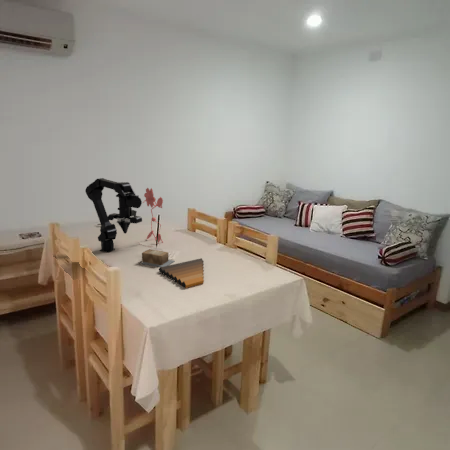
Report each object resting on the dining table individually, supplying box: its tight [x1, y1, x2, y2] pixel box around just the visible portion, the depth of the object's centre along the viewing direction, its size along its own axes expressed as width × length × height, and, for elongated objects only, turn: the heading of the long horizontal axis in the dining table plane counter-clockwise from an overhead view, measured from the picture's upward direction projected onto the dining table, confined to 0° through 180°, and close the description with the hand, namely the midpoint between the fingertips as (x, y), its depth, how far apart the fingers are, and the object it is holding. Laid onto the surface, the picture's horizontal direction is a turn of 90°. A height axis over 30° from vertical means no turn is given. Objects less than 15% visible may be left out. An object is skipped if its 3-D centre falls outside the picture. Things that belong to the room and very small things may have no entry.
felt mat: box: [141, 259, 175, 268], centre depth 194 cm, size 14×11×1 cm
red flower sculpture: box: [138, 187, 164, 248], centre depth 225 cm, size 15×26×35 cm, turn 38°
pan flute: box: [158, 257, 205, 289], centre depth 180 cm, size 25×3×25 cm
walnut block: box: [141, 248, 169, 265], centre depth 194 cm, size 5×7×12 cm
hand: (125, 233), depth 200 cm, fingers closed
